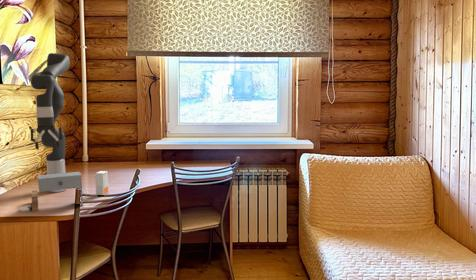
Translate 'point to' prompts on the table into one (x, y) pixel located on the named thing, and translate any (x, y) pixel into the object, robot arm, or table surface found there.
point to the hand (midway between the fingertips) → (47, 149)
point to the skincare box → (101, 182)
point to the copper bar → (34, 201)
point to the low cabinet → (60, 182)
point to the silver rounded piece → (26, 208)
